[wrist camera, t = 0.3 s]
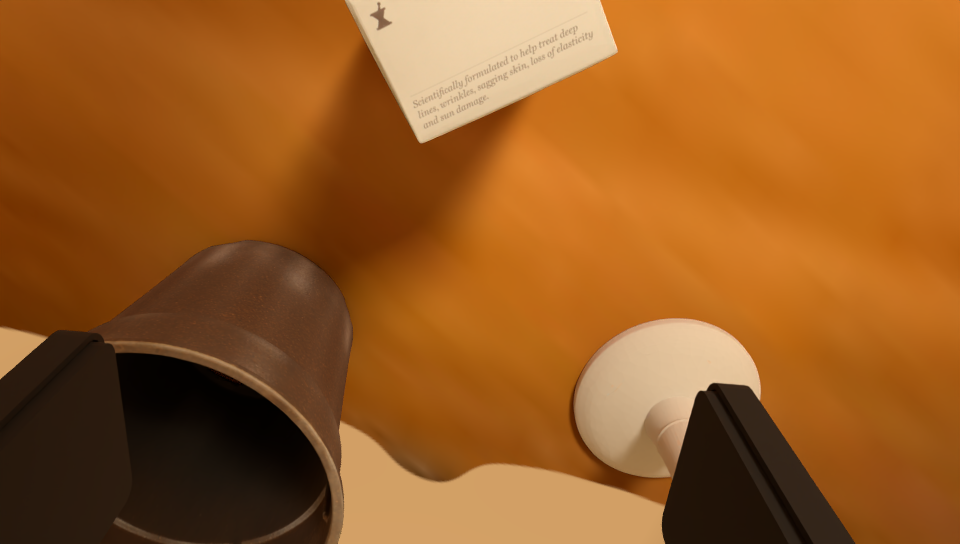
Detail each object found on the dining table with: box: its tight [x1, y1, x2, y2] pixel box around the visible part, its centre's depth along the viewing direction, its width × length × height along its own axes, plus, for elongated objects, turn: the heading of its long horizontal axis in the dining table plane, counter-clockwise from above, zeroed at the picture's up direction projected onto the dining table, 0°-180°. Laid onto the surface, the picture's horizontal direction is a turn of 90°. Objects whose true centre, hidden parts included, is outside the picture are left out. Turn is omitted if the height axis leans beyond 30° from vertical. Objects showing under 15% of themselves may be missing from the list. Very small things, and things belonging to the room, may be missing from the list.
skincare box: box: [345, 0, 618, 144], centre depth 30 cm, size 8×6×15 cm
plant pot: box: [88, 240, 353, 544], centre depth 37 cm, size 16×16×16 cm
